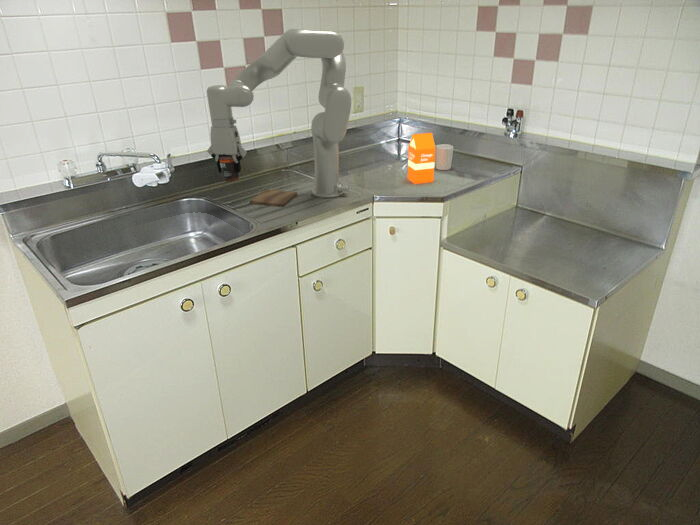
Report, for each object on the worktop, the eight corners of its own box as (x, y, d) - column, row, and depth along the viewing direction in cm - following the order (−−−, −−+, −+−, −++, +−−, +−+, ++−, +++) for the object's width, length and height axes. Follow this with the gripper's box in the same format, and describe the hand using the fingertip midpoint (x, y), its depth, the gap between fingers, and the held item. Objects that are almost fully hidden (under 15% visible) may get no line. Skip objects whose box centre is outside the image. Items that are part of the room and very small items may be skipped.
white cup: (454, 167, 242) (456, 145, 238) (447, 171, 236) (449, 149, 232) (438, 164, 246) (440, 143, 242) (431, 169, 240) (432, 147, 236)
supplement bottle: (239, 176, 198) (235, 146, 193) (238, 181, 193) (234, 151, 188) (223, 177, 198) (218, 148, 192) (222, 183, 192) (217, 152, 187)
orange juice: (433, 181, 224) (436, 134, 215) (414, 184, 222) (416, 136, 213) (425, 176, 231) (428, 130, 222) (407, 178, 228) (408, 132, 219)
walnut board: (297, 194, 211) (297, 192, 211) (283, 206, 199) (283, 204, 199) (265, 191, 215) (265, 189, 214) (250, 203, 203) (249, 200, 202)
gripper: (249, 120, 187) (255, 170, 195) (206, 119, 191) (214, 167, 200) (239, 125, 180) (246, 176, 189) (195, 124, 185) (203, 173, 193)
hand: (229, 171), depth 194 cm, fingers closed on supplement bottle, 6 cm apart
